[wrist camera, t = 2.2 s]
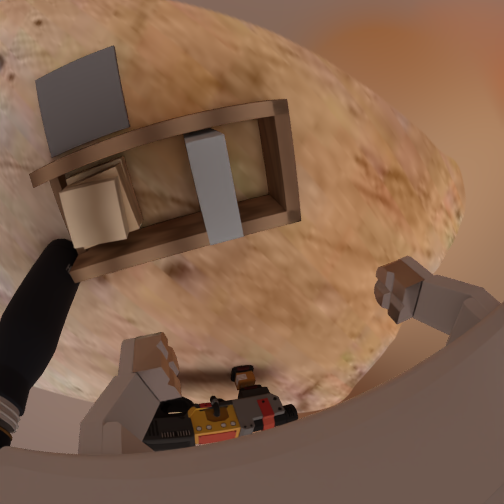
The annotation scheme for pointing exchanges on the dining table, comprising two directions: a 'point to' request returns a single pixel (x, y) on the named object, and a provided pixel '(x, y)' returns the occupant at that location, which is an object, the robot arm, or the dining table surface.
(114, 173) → the block
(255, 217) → the wooden box
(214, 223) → the gray rectangular block
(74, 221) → the offcut top
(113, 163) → the offcut bottom
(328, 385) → the dining table surface
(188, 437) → the toy gun
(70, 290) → the wine bottle
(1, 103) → the dining table surface
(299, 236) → the dining table surface
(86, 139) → the flat gray square tile
